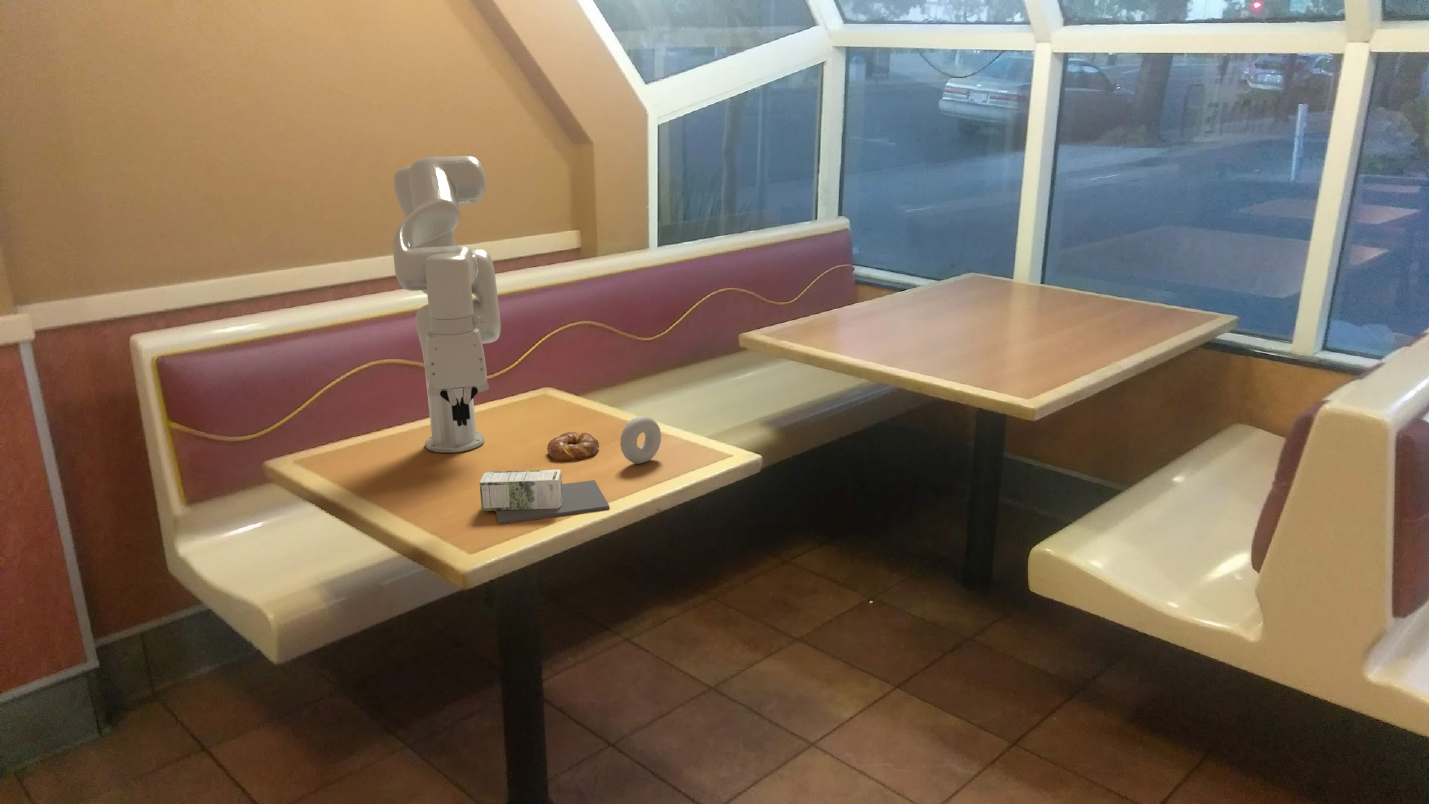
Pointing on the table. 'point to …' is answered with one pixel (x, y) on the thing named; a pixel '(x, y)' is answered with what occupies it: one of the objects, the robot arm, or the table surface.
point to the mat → (574, 501)
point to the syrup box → (521, 490)
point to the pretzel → (572, 446)
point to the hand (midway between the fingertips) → (461, 423)
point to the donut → (650, 443)
